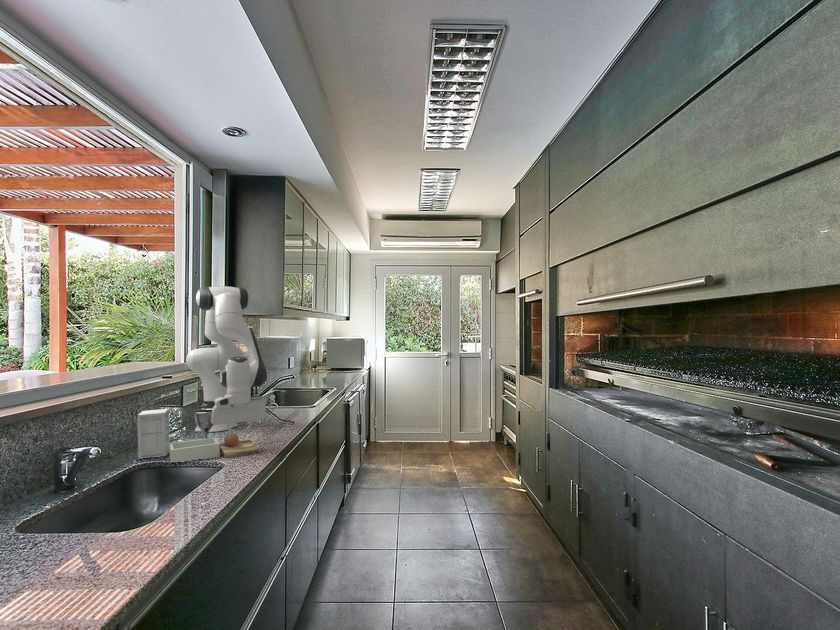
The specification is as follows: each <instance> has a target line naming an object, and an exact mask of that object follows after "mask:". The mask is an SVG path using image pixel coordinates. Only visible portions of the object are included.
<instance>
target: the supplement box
mask: <svg viewBox="0 0 840 630" xmlns="http://www.w3.org/2000/svg"><path fill="white" fill-rule="evenodd" d="M136 419H137V458H145V457H155V456H156V457H157V456H166V455H167V456H168V454H170V443H171V442H170V441H171V440H170V439H171V438H170V408H161V409H149V410H142V411H141V412H140V413H138V414H137V418H136ZM167 456H166V457H167Z"/></svg>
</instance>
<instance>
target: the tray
mask: <svg viewBox="0 0 840 630" xmlns="http://www.w3.org/2000/svg"><path fill="white" fill-rule="evenodd" d="M219 451H220V452H221V454H222V456H223V458H224V459H228V458H235V457H241V455H243V456H247V455H246V454H249V455H254V454H253V453H256V454H260V452H261V453H262V447H260V445H259V444H258V443H257V442H256V441H255V440H254V439H253V438H252V439H243V440H238V443H237V444H236V445H235V446H227V445H226V444H225V442H222V443H219Z"/></svg>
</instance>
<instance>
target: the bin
mask: <svg viewBox="0 0 840 630" xmlns="http://www.w3.org/2000/svg"><path fill="white" fill-rule="evenodd" d="M219 444H220V442H219V441H218V439H217V437H216V436H213V437H207V438H205V437H204V438H199V439H198V438H197V439H190V440H185V441H184V440H183V441H177V442H175V441H174V442H170V451H169V460H171V462H170V464H171V463H172V462H181V461H189V462H191V461H190V460H196V461H199V460H198V459H203V460H207V459H208V458H209V459H214V458H215V457H216V458H220V456H221V455H220V449H219Z"/></svg>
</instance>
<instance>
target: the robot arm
mask: <svg viewBox="0 0 840 630" xmlns="http://www.w3.org/2000/svg"><path fill="white" fill-rule="evenodd" d="M249 301H250V296H249V292H248V290H247V289H246V288H244V287H236V286H235V287H234V286H227V285H225V286H202V287H200V288H199V289H198V290H197V292H196V295H195V302H196V304H197V307H198V308H199V309H201V310H202V311H205V317H204V336H205V338H206V339H208V340H209V341H211V342H212V343H213V342H214V343H216V344H217V345H216V346H215V347H200V348H194V349H192V350H190V351H188V353H187V355H186V358H185V363H186V364H185V365H186V367H188V369H189V370H191V371H192V372H193V373H195V374H196V375H197V376H198V378H199V379H200V381H201V384H202V391H203V400H202V408H203V409H212V414H211V423H212V424H213V425H214V426H213V427H212V428H211V429H210V431H209V432H208V433H211V432H212V433H213V432H215V433H216V432H221V431H227V430H228V434H229V435H233V434H234V429H232V428H237V427H239V425H238V423H246V422H247V423H248V426H247V427H244V428H245V429H244V431H245V434H248V433H251V428H252V425H253V423H254V421H262V420H266V418H267V410H266V409H267V408H266V406H267V398H265V397H263V396H262V395H260V396H252V395H251V394H252V389H251V388H260V387H261V386H263V384H265V383H266V382H267V380H268V372H267V369H266V365H265V363H264V360H263V358H262V355H261V351H260V348H259V345H258V342H257V337H256V336H255V333H254V330H253V329H252V328H251V327H249V326H248V325H247V323H245V320H244V316H243V315H244V314H243V310H245V309H246V308H247V307H248V306H249ZM234 341H237V342H239V343H241V344H242V345H244V346H245V348H246V350H247V352H248V357H249V359H248V358H247V357H245V354H244V351H243V350H242V349H241V348H240V347H239V346H237V345H236V344H235V343H234ZM249 360H250V362H251V363H250V362H249ZM216 371H219V376H218V375H216ZM203 409H202V410H203ZM236 426H237V427H236ZM194 432H202V430H200V429H199V428H198V426H197V425H196V427H195V429H194Z"/></svg>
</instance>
